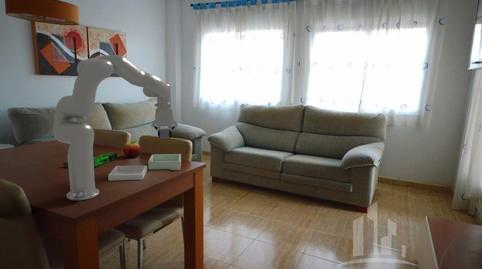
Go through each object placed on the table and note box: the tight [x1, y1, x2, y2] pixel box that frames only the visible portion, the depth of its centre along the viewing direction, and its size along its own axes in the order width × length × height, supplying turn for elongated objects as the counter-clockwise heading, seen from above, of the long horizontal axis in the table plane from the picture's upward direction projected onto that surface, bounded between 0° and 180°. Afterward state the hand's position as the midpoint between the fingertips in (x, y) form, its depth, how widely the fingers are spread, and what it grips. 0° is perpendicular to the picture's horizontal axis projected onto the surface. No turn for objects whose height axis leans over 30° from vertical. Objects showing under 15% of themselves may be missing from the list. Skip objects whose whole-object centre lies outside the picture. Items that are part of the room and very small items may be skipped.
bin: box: [147, 153, 182, 171], centre depth 179 cm, size 17×17×5 cm
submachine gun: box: [62, 152, 120, 168], centre depth 183 cm, size 5×29×25 cm
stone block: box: [159, 127, 170, 140], centre depth 176 cm, size 5×5×5 cm
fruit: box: [122, 140, 142, 158], centre depth 199 cm, size 11×11×10 cm
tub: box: [107, 164, 148, 181], centre depth 159 cm, size 16×16×4 cm
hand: (164, 137), depth 176 cm, fingers closed on stone block, 5 cm apart
